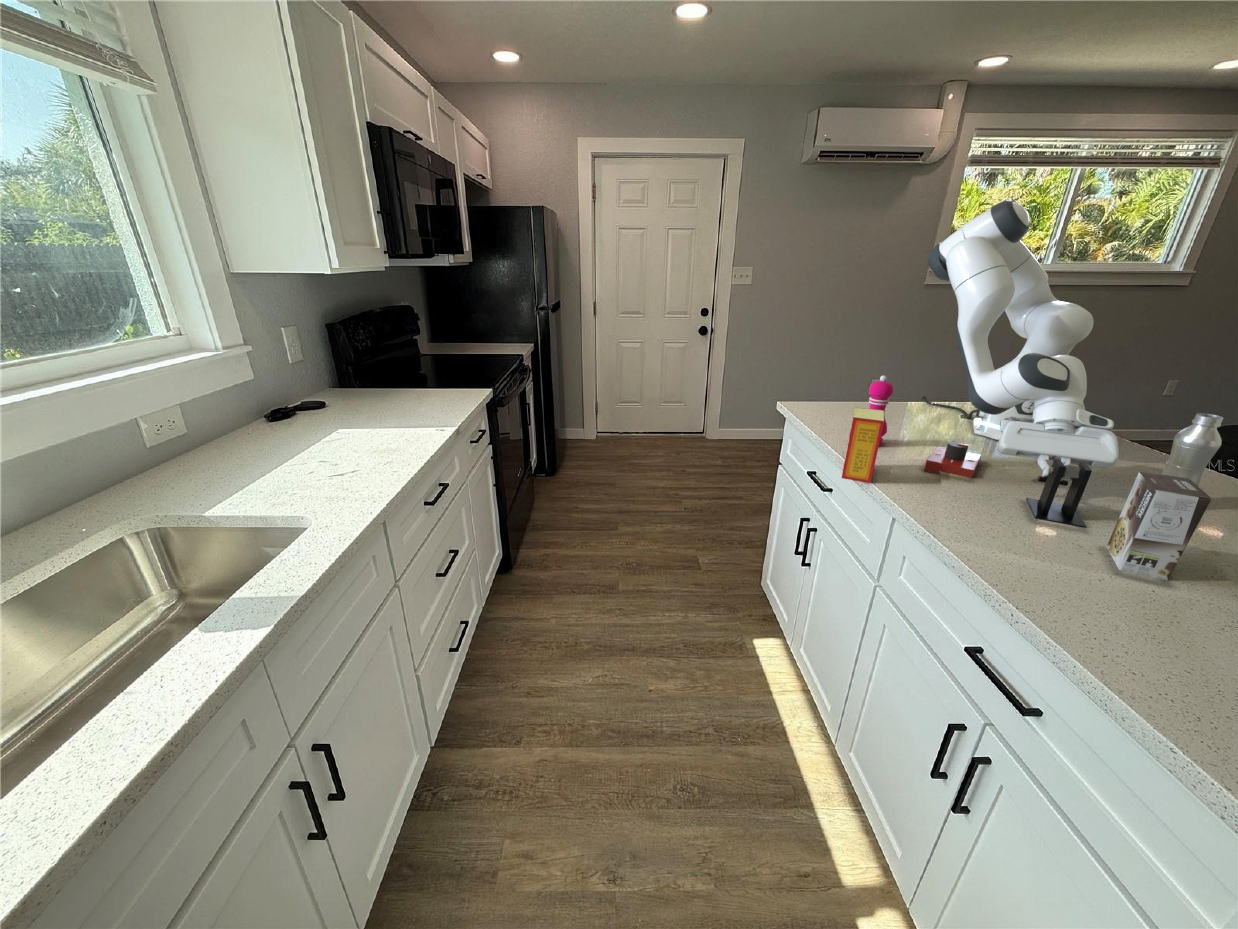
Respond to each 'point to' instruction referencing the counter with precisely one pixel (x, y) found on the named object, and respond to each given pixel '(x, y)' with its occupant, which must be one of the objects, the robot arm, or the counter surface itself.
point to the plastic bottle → (1194, 448)
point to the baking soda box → (863, 444)
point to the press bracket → (1067, 510)
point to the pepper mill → (880, 398)
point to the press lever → (1065, 475)
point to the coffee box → (1156, 524)
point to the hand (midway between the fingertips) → (1052, 477)
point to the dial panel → (952, 463)
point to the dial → (956, 450)
